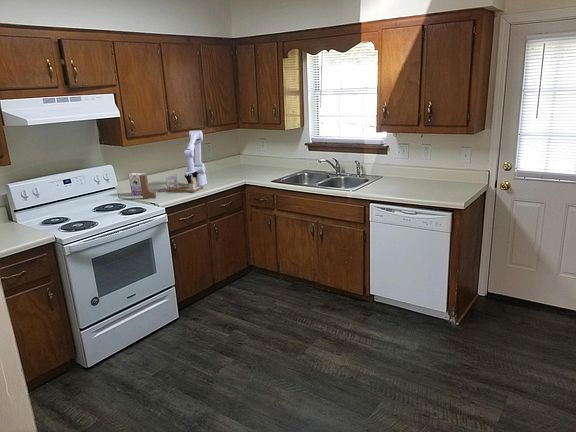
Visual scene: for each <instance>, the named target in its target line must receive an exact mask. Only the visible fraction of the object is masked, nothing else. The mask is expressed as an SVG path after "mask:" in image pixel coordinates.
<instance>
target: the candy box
mask: <svg viewBox="0 0 576 432" xmlns="http://www.w3.org/2000/svg"><path fill="white" fill-rule="evenodd" d="M142 174H144V173H142V172H141V173H140V172H139V173H138V172H132V173H128V179H129V185H130V190H131V195H132V194H133V195H134V196H135V195H136V196H143V195H142V189H141V183H140V177H139V176H140V175H142Z"/></svg>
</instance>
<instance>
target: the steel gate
mask: <svg viewBox="0 0 576 432" xmlns="http://www.w3.org/2000/svg"><path fill="white" fill-rule="evenodd" d="M172 180H174V181H173V182H174V186H179V182H178V176H177V174H174V175H171V176H168V177H165V184H166V185H165V186H166V189H170V187H171V185H170V181H172Z"/></svg>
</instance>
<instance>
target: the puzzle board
mask: <svg viewBox="0 0 576 432" xmlns="http://www.w3.org/2000/svg"><path fill="white" fill-rule="evenodd" d="M196 187H200V188H198V189H196V190H186V189H188V188H189V185H178V186H175V185H173V186H170V189H167V188H166V189H164V192H168V193H189V194H190V193H191V194H195V193H197V192H199V191H201V190H203V189H204V186H196Z"/></svg>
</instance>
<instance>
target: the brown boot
mask: <svg viewBox="0 0 576 432" xmlns="http://www.w3.org/2000/svg"><path fill="white" fill-rule="evenodd" d="M139 177H140V183H141V189H142V195H141V196H142V200H149V199H148V198H153V199H156V198H157V192H156V191H155V190H151V189H150V187H149V181H148V175H147V173H143V174H142V175H140V176H139Z"/></svg>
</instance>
